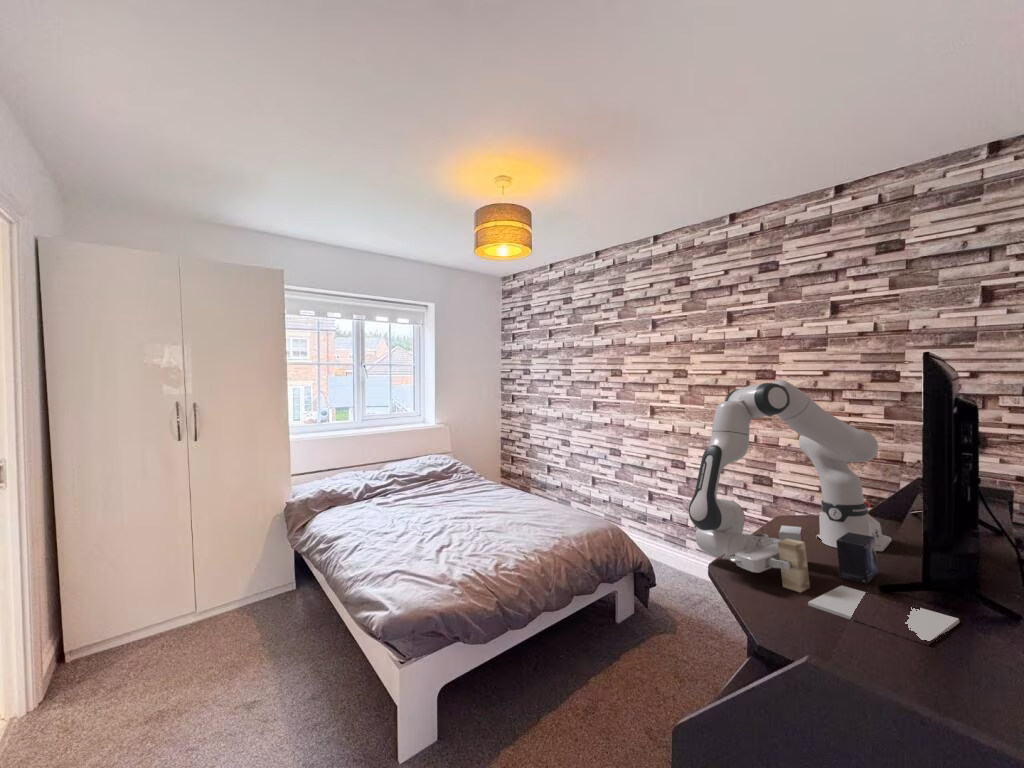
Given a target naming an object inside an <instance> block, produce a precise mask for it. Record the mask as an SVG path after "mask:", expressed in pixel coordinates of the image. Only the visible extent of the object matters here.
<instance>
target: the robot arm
mask: <svg viewBox="0 0 1024 768" xmlns="http://www.w3.org/2000/svg"><path fill="white" fill-rule="evenodd" d="M775 415H776V416H777V417H778V418H780V419H781V421H783V422H784V423H785V424H786V425H787V426H788V427H790V428H791V429H792V430H793V431H794V432H795V433H796V434H798V435H800V436H799V438H798V445H799V448H800V450H801V451H802V453H804V454H805V455H806V456H807V457H808V459H810V461H811V463H812V464H813V467H814V468H815V471H816V473H817V475H818V478H819V479H818V480H819V484H820V491H821V498H822V499H821V501H820V502H821V503H820V505H821V510H822V513H821V514H820V515H819V519H818V520H819V533H818V534H816V537H817V536H818V537H819V538H820V539H821V540H822V541H821V540H820V541H821V542H822V543H823V544H825V545H826V546H829V547H832V548H836V549H837V542H836V540H838V539H839V538H841V537H842V536H844V535H845V534H847V533H848V532H850V533H855V534H861V535H866V536H872V537H874V541H875V550H876V552H884V550H885V549H886V548H887V547H888V546H889V545H890V543H891V542H892V541H893V540H892V537H890V536H887V535H883V533H882V527H881V523H880V522H879V521H878V520H877V519H875V518H874V517H873V516H871V515H870V514H869V513H870V512H869V510H868V508H870V507H871V502H870V501H867V500H866V501H865V500H864V493H863V492H864V491H863V485H862V480H861V478H860V477H859V476H858V475H857V474H856V473H855V472H853V471H852V469H851V468H850V467H849V465H848V463H862V462H869V461H872V460H873V459H874V458H876V456H877V454H878V451H879V444H878V440H877V439H876V438H875V436H874V435H873V434H871V433H870V432H869V431H864V430H861V429H859V428H857V427H854V426H852V425H850V424H848V423H847V422H845V421H843V420H841V419H840V418H837V417H836V416H835V415H832V414H830V413H829V412H827V411H826V410H825V409H824V408H822V407H821V406H820V405H819V404H817V402H815V401H814V400H813V399H812V398H811V397H810V396H809V395H807V394H806V393H805V392H803V391H802V390H801V389H799V387H796V386H795V385H794V384H792V383H790V382H788V381H786V380H783V379H777V380H774V381H772V382H764V383H759V384H753V385H747V386H746V387H742V388H737V389H734V390H732V391H730V392H729V393H728V394H727V395H726V397H725V398H724V401H722V402H720V403H718V405H717V406H716V409H715V412H714V417H713V421H712V425H711V434H710V441H709V444H708V446H707V448H705V450H704V452H703V454H702V457H701V462H700V466H699V470H698V476H697V480H696V485H695V489H694V494H693V496H692V498H691V500H690V503H689V506H688V516H689V518H690V521H691V522H692V524H693V526H695V528H697V529H696V531H695V537H694V538H695V542H696V545H697V547H698V548H699V550H702V551H703V552H704V553H705V554H708V555H710V556H713V557H715V558H718V559H720V558H719V557H721V556H722V555H724V554H725V555H724V556H723V557H722V560H729V561H730V562H731V563H735V564H736V566H737V567H740V568H741V569H743V570H745V571H749V572H751V573H758V574H760V573H762V572H765V571H767V570H770V569H781V568H783V569H787V570H789V569H791V568H792V563H791V562H790V561H786V560H784V561H781V560H780V557H779V548H778V541H781V540H780V538H776V537H769V535H768V534H766V533H765V534H763V533H762V534H761V533H759V534H749V533H748V534H747V533H746V534H745V533H743V531H744V525H745V519H746V518H745V517H746V516H745V511H744V510H743V508H742V506H741V505H740V504H739V503H737V502H736V501H734V500H728V499H725V498H724V499H723V498H722V499H721V498H718V497H717V493H718V489H719V483H720V479H721V474H722V471H723V470H724V468H726V466H728V465H729V464H732V463H735V462H738V461H739V460H741V459H742V458H744V457H745V456H746V455H747V454H748V449H749V443H750V431H751V430H750V427H751V426H750V423H751V421H752V419H759V418H764V417H768V416H775Z"/></svg>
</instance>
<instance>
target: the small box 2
mask: <svg viewBox="0 0 1024 768" xmlns="http://www.w3.org/2000/svg"><path fill="white" fill-rule="evenodd" d="M836 542H837V548H836V550H837V551H836V552H837V558H838V559H837V560H838V570H839V571H838V572H839V578H840V579H843V580H847V581H851V582H852V581H853V582H856V583H860V584H865V585H868V584H869V583H870V582H871V581H872V580H873V579H874V578H876V576H877V575H878V574H879V569H878V568H879V567H878V561H877V553H876V552H877V551H876V550H875V541H874V537H872V536H866V535H861V534H855V533H850V532H848V533H847V534H845V535H844V536H842V537H841V538H839V539H838V540H836Z"/></svg>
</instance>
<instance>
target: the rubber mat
mask: <svg viewBox="0 0 1024 768" xmlns="http://www.w3.org/2000/svg"><path fill="white" fill-rule="evenodd" d="M865 593H866V591H863V590H859V589H856V588H852V587H849V586H845V585H839V586H837V587H835V588H833V589H831V590H829V591H827V592H825V593H823V594H821V595H819V596H817V597H815V598H814V599H811V600H809V601H807V605H808V607H812V608H815V609H818V610H821V611H824V612H826V613H830V614H833V615H836V616H839V617H842V618H844V619H847V620H850V619H851V617H852V615H853V613H854V611H855V609H856V608H857V606H858V604H859V603H860V601H861V599H862V598H863V596H864V595H865ZM911 610H912V611H910V615H907V616H908V617H909V619H908V620H907V622H905V624H908V628H909V630H911V631H914V632H915V633H917V634H916V635H917V636H918V637H919V638H920V639H921V640H927V641H931V640H933V639H935V638H937V637H938V636H939V635H941V634H943V633H945V632H947V631H948V632H950V631H951V630H952V629H953V628H954V627H956V626H957V625H958V624H959V623H960V618H958V617H954V616H950V615H947V614H945V613H944V614H943V613H940V612H938V611H937V612H936V611H933V610H929V609H926V608H923V607H920V610H919V609H915V608H913V609H912V607H911ZM916 610H917V611H916ZM910 628H911V629H910ZM950 629H951V630H950ZM948 632H947V633H948ZM945 634H946V633H945Z"/></svg>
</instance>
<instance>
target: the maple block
mask: <svg viewBox="0 0 1024 768" xmlns="http://www.w3.org/2000/svg"><path fill="white" fill-rule="evenodd" d="M778 548H779V557H780V560H781V561H784V560H786V561H790V562H791V563H792V568H791V569H789V570H787V569H783V568H780V572H781V581H782V582H781V583H782V588H786V589H789V590H790V591H795V592H798V593H803V592H805V591H807V590H809V589H811V585H810V584H811V583H810V577H809V567H808V560H807V559H808V558H807V552H806V549H807V548H806V543H805V542H804V541H803V542H802V541H797V540H793V539H788V538H787V539H784V540H781V541H778Z"/></svg>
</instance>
